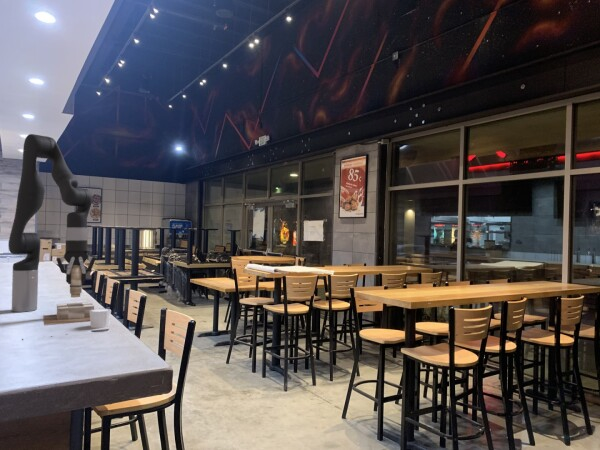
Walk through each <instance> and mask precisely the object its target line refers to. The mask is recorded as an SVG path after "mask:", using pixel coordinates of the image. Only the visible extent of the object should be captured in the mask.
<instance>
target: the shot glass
mask: <svg viewBox="0 0 600 450" xmlns="http://www.w3.org/2000/svg"><path fill="white" fill-rule="evenodd" d="M111 313H112V310H111V309H110V308H97V309H96V308H94V310H90V321H89V322H90V328H92V330H90V332H91V333H103V332H108V331H109V330H110V329H109V328H108V327H109V326H110V324H111V323H110V321H111ZM100 328H101V329H100ZM93 329H95V330H93Z"/></svg>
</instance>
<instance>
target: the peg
mask: <svg viewBox="0 0 600 450" xmlns="http://www.w3.org/2000/svg"><path fill="white" fill-rule="evenodd" d="M70 274H71V281H70V284H69V294H70V298H74V299H75V298H81V294H82V287H83V285H82V284H83V283H82V269H81V266H80V265H74V266H72V268H71V271H70Z"/></svg>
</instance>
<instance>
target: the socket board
mask: <svg viewBox="0 0 600 450" xmlns="http://www.w3.org/2000/svg"><path fill="white" fill-rule="evenodd" d="M94 309H95V305H93V302H91V301H85V302H71V303H70V302H68V303H57V304H56V314H43V316H42V319H43V325H44V326H53V325H62V324H63V325H65V324H75V323H76V324H77V323H85V322H86V323H87V322H90V310H94Z"/></svg>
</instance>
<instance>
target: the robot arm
mask: <svg viewBox="0 0 600 450" xmlns="http://www.w3.org/2000/svg"><path fill="white" fill-rule="evenodd" d="M22 151H23V152H22V165H21V166H22V167H21V175H20V176H21V177H20V183H19V186H18V191H17V198H16V206H15V207H16V208H15V213H14V219H13V222H12V227H11V230H10V234H9V237H8V238H9V239H8V250H9V252H10V253H11V254H13V255H26V257H25V258H23V259H21V260H20V261H17V262H15V263H13V264H12V283H11V284H12V285H11V287H12V289H11V312H16V313H17V312H18V313H19V312H20V313H21V312H25V313H26V312H31V311H32V312H33V311H37V310H38V294H39V293H38V292H39V291H38V290H39V285H38V284H39V264H40V254H41V244H42V243H41V237H40V234H39V233H37V232H24V231H25V229H26V226H27V224H29V223H28V222H29V221H30V220H31V219H32V218H33V217H34V216H35V215H36V214H37V212H38V211H39V210H41V208H42V206H43V204H44V198H45V192H46V190H45V187H44V184H43V182H42V179H41V178H40V176H39V173H38V171H37V159H39V158H40V159H44V160H45V159H48V160H49V161H50V162H51V163H52V167H51V172H50V173H51V177H52V179H53V181H54V182H55V184H56V185H57V187H58V188H59V193H60V197H61V200H62V202H63V203H64V204H65V205H67V206H69V207H70V206H71V207H77V209H76V210H75V211H72V212H69V213H68V214H67V215H66V231H65V253H64V255H63V256H60V257H57V258H56V260H55V261H56V262H57V265H58V267H59V271H60V273H62V274H65V276H66V278H65V281H66V283H67V284H68V285H70V281H71V274H70V271H71V268H72V266H81V269H82V284H84V283H85V282H86V280H87V279H86V276H87V273H90V272H92V269H93V266H94V264H95V261H96V257H95V256H90V255H89V254H88V240H89V237H88V236H89V235H88V216H89V213H90V210H91V207H92V203H93V194H92V193H91V191H90V190H89V189H87V188H79V187H78V186H79V182H78V180H77V178H76V177H75V175H74V174H73V173H72V171H71V170H70V168H69V167H68V165H67V163H66V161H65V158H64V156H63V153H62V151H61V149H60V147H59V145H58V142H57V141H56V140H55V139H54V138H53V137H50V136H48V135H47V136H46V135H40V134H39V135H38V134H34V133H30V134H28V135H27V136H26V137H25V139H24V143H23V149H22ZM87 260H88V262H89V263H88V266H87V268H85V262H86V261H87ZM64 261H66V262H67V263H68V264H67V268H66V269H65V268H64V265H63V263H64Z"/></svg>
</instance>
